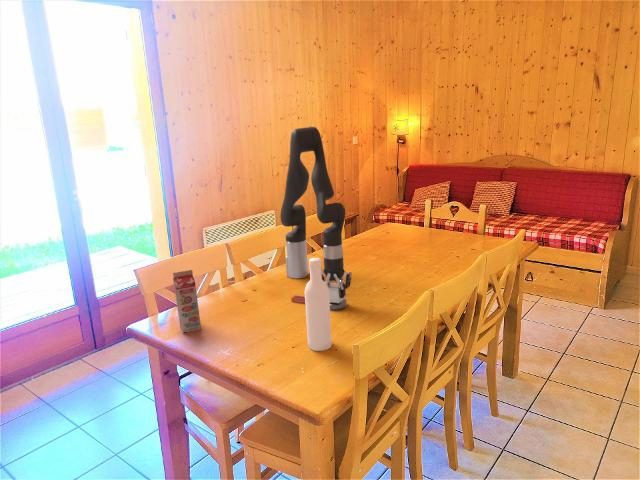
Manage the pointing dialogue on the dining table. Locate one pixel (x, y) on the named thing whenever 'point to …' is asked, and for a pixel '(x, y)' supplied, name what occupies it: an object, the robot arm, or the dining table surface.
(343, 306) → the ratchet
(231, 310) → the dining table surface
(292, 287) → the dining table surface
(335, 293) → the socket
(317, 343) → the bottle
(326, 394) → the dining table surface
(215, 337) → the dining table surface
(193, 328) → the juice carton
